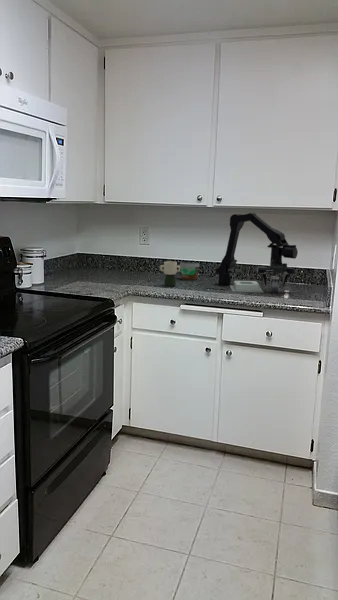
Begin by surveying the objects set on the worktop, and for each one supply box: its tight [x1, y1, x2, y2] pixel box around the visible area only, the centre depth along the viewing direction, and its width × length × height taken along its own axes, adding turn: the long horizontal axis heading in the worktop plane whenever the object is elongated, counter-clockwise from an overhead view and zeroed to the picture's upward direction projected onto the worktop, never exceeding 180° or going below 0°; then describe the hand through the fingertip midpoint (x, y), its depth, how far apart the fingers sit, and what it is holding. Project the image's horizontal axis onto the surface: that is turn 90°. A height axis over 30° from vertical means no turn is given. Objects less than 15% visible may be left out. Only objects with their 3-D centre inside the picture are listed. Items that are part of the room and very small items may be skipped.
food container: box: [179, 261, 200, 281], centre depth 287 cm, size 12×6×10 cm, turn 65°
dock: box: [229, 280, 264, 294], centre depth 263 cm, size 16×16×4 cm
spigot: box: [269, 275, 280, 294], centre depth 258 cm, size 4×4×8 cm
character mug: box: [159, 260, 181, 287], centre depth 268 cm, size 11×7×13 cm, turn 86°
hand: (274, 286), depth 258 cm, fingers open, 9 cm apart
